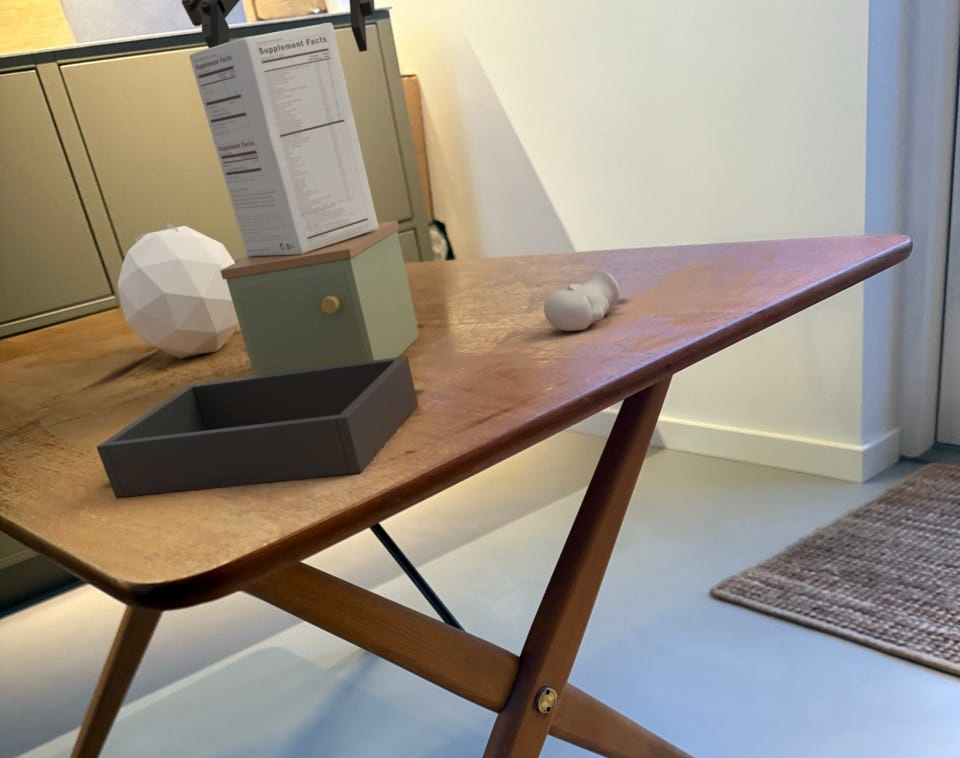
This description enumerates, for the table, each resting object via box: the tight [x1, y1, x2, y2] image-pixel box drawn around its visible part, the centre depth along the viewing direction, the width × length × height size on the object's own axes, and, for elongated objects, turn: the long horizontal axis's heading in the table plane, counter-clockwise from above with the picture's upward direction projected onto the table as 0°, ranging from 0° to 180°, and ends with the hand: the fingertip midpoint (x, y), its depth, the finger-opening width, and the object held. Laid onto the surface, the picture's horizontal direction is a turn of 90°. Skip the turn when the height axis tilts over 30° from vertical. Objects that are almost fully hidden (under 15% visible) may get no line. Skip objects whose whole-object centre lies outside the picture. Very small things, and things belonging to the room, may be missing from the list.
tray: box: [96, 355, 419, 498], centre depth 78 cm, size 20×15×4 cm
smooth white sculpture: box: [543, 269, 621, 332], centre depth 95 cm, size 4×8×5 cm
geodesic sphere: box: [116, 221, 240, 360], centre depth 116 cm, size 15×14×14 cm
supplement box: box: [189, 22, 379, 257], centre depth 91 cm, size 10×9×17 cm
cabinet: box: [221, 219, 420, 377], centre depth 97 cm, size 12×15×11 cm
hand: (289, 55), depth 97 cm, fingers open, 13 cm apart
